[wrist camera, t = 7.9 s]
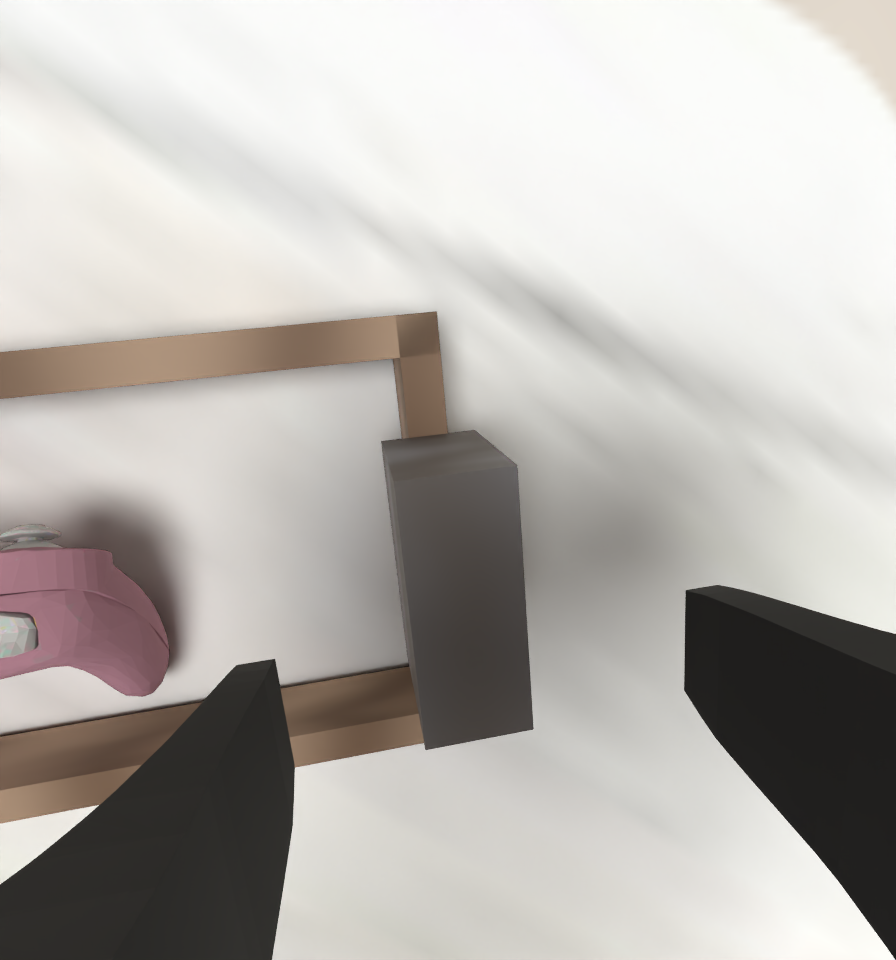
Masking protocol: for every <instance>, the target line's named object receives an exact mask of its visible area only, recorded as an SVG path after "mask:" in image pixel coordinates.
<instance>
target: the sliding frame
mask: <svg viewBox="0 0 896 960" xmlns="http://www.w3.org/2000/svg"><path fill="white" fill-rule="evenodd" d="M383 359H393V364H394V373H395V381H396V390H397V399H398V408H399V417H400V426H401V435H402V439H397V440H388V441H381V444H382V452H383V460H384V468H385V477H386V485H387V493H388V501H389V509H390V517H391V526H392V534H393V542H394V550H395V558H396V567H397V575H398V583H399V591H400V599H401V608H402V616H403V624H404V632H405V640H406V649H407V655H408V661H409V667H403V668H397V669H391V670H386V671H380V672H374V673H368V674H362V675H357V676H351V677H345V678H339V679H333V680H328V681H322V682H316V683H310V684H304V685H298V686H293V687H287V688H281V694H282V700H283V705H284V710H285V716H286V721H287V726H288V732H289V737H290V742H291V748H292V753H293V758H294V764H295V767H300V766H305V765H310V764H316V763H321V762H326V761H331V760H337V759H342V758H347V757H352V756H358V755H363V754H368V753H373V752H379V751H384V750H389V749H394V748H400V747H405V746H410V745H416V744H421V743H424V745H425V750H428V749H434V748H439V747H444V746H449V745H454V744H460V743H465V742H470V741H475V740H480V739H486V738H491V737H496V736H501V735H507V734H512V733H517V732H522V731H527V730H533V714H532V698H531V682H530V665H529V649H528V633H527V617H526V600H525V584H524V568H523V552H522V535H521V519H520V503H519V487H518V470H517V465H516V464H515V463H514V462H512V461H511V460H510V459H509V458H508V457H506V456H505V455H504V454H503V453H502V452H500V451H499V450H498V449H497V448H496V447H494V446H493V445H492V444H491V443H490V442H488V441H487V440H486V439H485V438H484V437H482V436H481V435H480V434H479V433H478V432H476V431H475V430H471V431H463V432H454V433H448V430H447V419H446V408H445V398H444V387H443V376H442V365H441V354H440V343H439V332H438V321H437V312H426V313H416V314H405V315H394V316H383V317H373V318H362V319H351V320H341V321H330V322H319V323H308V324H298V325H287V326H276V327H266V328H255V329H244V330H233V331H223V332H212V333H201V334H191V335H180V336H169V337H158V338H148V339H137V340H126V341H116V342H105V343H94V344H83V345H73V346H62V347H51V348H41V349H30V350H19V351H8V352H0V399H4V398H14V397H23V396H33V395H43V394H53V393H62V392H72V391H82V390H91V389H101V388H111V387H121V386H130V385H140V384H150V383H159V382H169V381H179V380H189V379H198V378H208V377H218V376H227V375H237V374H247V373H257V372H266V371H276V370H286V369H295V368H305V367H315V366H325V365H334V364H344V363H354V362H363V361H373V360H383ZM201 703H202V702H200V703H194V704H188V705H182V706H177V707H171V708H165V709H159V710H153V711H148V712H142V713H136V714H130V715H124V716H119V717H113V718H107V719H101V720H95V721H90V722H84V723H78V724H72V725H66V726H61V727H55V728H49V729H43V730H37V731H32V732H26V733H20V734H14V735H8V736H3V737H0V823H5V822H11V821H16V820H21V819H26V818H32V817H37V816H42V815H47V814H53V813H58V812H63V811H68V810H74V809H79V808H84V807H89V806H95V805H100V804H101V803H103V802H104V801H105V800H106V799H107V798H108V797H109V796H110V795H111V794H112V793H114V792H115V791H116V790H117V789H118V788H119V787H120V786H121V785H122V784H123V783H124V782H125V781H126V780H127V779H128V778H129V777H130V776H131V775H132V774H133V773H134V772H135V771H136V770H137V769H138V768H139V767H140V766H141V765H142V764H143V763H144V762H145V761H146V760H148V759H149V758H150V757H151V756H152V755H153V754H154V753H155V752H156V751H157V750H158V749H159V748H160V747H161V746H162V745H163V744H164V743H165V742H166V741H167V740H168V739H169V738H170V737H171V736H172V734H173V733H174V732H175V731H176V730H177V729H178V728H179V727H180V726H181V725H182V724H183V723H184V722H185V721H186V719H187V718H188V717H189V716H190V715H191V714H192V713H193V712H194V711H195V710H196V709H197V708H198V707H199V705H200V704H201Z"/></svg>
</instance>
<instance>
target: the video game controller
mask: <svg viewBox="0 0 896 960" xmlns="http://www.w3.org/2000/svg"><path fill="white" fill-rule="evenodd" d="M59 536H61V533H60V532H59V531H57V530H54V529H52V528H49V527H46V526H45V525H21V526H17V527H15V529H11V530H9V531H7V532H5V533H3V534H1V535H0V540H1V541H7V542H16V543H14V544H12V545H10V546H8V547H5V548H3V549H1V550H0V679H4V678H8V677H12V676H16V675H21V674H25V673H29V672H33V671H37V670H42V669H46V668H50V667H59V666H71V667H74V668H78V669H81V670H84V671H86V672H88V673H90V674H92V675H95V676H97V677H98V678H99V679H101V680H102V681H104V682H105V683H107V684H108V685H110V686H111V687H113V688H114V689H116V690H117V691H119V692H121V693H123V694H125V695H127V696H141V697H143V696H146V695H149V694H152V693H153V692H154V691H155V690H156V689H157V688H158V686H159V685H160V684H161V683H162V681H163V679H164V676H165V673H166V670H167V667H168V661H169V654H170V652H169V645H168V638H167V635H166V632H165V629H164V626H163V624H162V621H161V619H160V616H159V614H158V612H157V610H156V608H155V606H154V604H153V603H152V601H151V600H150V599H149V598H148V596H147V595H146V594H145V593H144V592H143V590H142V589H141V588H140V587H139V585H138V584H136V583H135V582H134V581H133V580H131V579H130V578H129V577H128V576H127V575H125V574H124V573H123V572H122V571H120V570H119V569H118V568H117V567H115V566H114V565H113V558H112V553H111V552H109V551H106V550H99V549H88V548H62V547H61V546H59V545H56V544H53V543H50V542H47V541H44V540H50V539H53V538H56V537H59Z"/></svg>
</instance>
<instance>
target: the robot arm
mask: <svg viewBox="0 0 896 960" xmlns="http://www.w3.org/2000/svg"><path fill="white" fill-rule="evenodd" d="M684 691H685V692H686V694H687V695H688V697H689V698H690V700H691V702H692V703H693V705H694V706H695V708H696V709H697V711H698V713H699V714H700V716H701V717H702V719H703V720H704V722H705V723H706V725H707V726H708V727H709V729H710V730H711V732H712V733H713V735H714V736H715V738H716V739H717V740H718V741H719V743H720V744H721V745H722V746H723V747H724V749H725V750H726V751H727V752H728V753H729V754H730V756H731V757H732V758H733V759H734V760H735V761H736V763H737V764H738V765H739V766H740V767H741V768H742V770H743V771H744V772H745V773H746V774H747V775H748V777H749V778H750V779H751V780H752V781H753V782H754V783H755V785H756V786H757V787H758V788H759V789H760V790H761V791H762V793H763V794H764V795H765V796H766V797H767V798H768V799H769V800H770V802H771V803H772V804H773V805H774V806H775V807H776V808H777V810H778V811H779V812H780V813H781V814H782V815H783V816H784V818H785V819H786V820H787V821H788V822H789V823H790V824H791V826H792V827H793V828H794V829H795V830H796V831H797V832H798V833H799V835H800V836H801V837H802V838H803V839H804V840H805V841H806V843H807V844H808V845H809V846H810V847H811V848H812V849H813V851H814V852H815V853H816V854H817V855H818V857H819V858H820V859H821V860H822V862H823V863H824V864H825V865H826V866H827V868H828V869H829V870H830V871H831V873H832V874H833V875H834V876H835V877H836V879H837V880H838V881H839V883H840V884H841V885H842V887H843V888H844V889H845V891H846V892H847V893H848V895H849V896H850V898H851V899H852V900H853V902H854V903H855V904H856V906H857V907H858V908H859V910H860V911H861V913H862V914H863V915H864V917H865V918H866V919H867V921H868V922H869V924H870V925H871V926H872V928H873V929H874V930H875V932H876V933H877V934H878V936H879V937H880V939H881V940H882V941H883V943H884V944H885V945H886V947H887V948H888V950H889V951H890V953H891V954H892V955H893V957H894V958H895V960H896V634H893V633H889V632H885V631H881V630H877V629H874V628H870V627H867V626H863V625H860V624H856V623H853V622H849V621H846V620H843V619H839V618H836V617H832V616H829V615H826V614H822V613H819V612H816V611H812V610H809V609H806V608H803V607H799V606H796V605H793V604H789V603H786V602H783V601H779V600H776V599H773V598H769V597H766V596H762V595H759V594H755V593H751V592H748V591H744V590H740V589H735V588H731V587H726V586H720V585H715V586H709V587H703V588H697V589H691V590H686V608H685V681H684ZM294 772H295V764H294V758H293V753H292V748H291V742H290V737H289V732H288V726H287V721H286V716H285V710H284V705H283V700H282V694H281V689H280V684H279V678H278V673H277V668H276V662H275V659H272V660H266V661H260V662H254V663H248V664H242V665H236V666H235V667H234V668H233V669H232V670H231V671H230V672H229V673H228V674H227V676H226V677H225V678H224V679H223V680H222V681H221V682H220V683H219V684H218V685H217V687H216V688H215V689H214V690H213V691H212V692H211V693H210V694H209V695H208V697H207V698H206V699H205V700H204V701H203V702H202V703H201V704H200V705H199V707H198V708H197V709H196V710H195V711H194V712H193V713H192V714H191V715H190V716H189V717H188V718H187V719H186V721H185V722H184V723H183V724H182V725H181V726H180V727H179V728H178V729H177V730H176V731H175V732H174V733H173V734H172V736H171V737H170V738H169V739H168V740H167V741H166V742H165V743H164V744H163V745H162V746H161V747H160V748H159V749H158V750H157V751H156V752H155V753H154V754H153V755H152V756H151V757H150V758H149V759H148V760H146V761H145V762H144V763H143V764H142V765H141V766H140V767H139V768H138V769H137V770H136V771H135V772H134V773H133V774H132V775H131V776H130V777H129V778H128V779H127V780H126V781H125V782H124V783H123V784H122V785H121V786H120V787H119V788H118V789H117V790H116V791H115V792H114V793H112V794H111V795H110V796H109V797H108V798H107V799H106V800H105V801H104V802H103V803H101V804H100V805H99V806H98V807H97V808H96V809H95V810H93V811H92V812H91V813H90V814H89V815H88V816H87V817H85V818H84V819H83V820H82V821H81V822H80V823H78V824H77V825H76V826H75V827H73V828H72V829H71V830H70V831H69V832H67V833H66V834H65V835H64V836H63V837H61V838H60V839H59V840H58V841H57V842H55V843H54V844H53V845H52V846H50V847H49V848H48V849H47V850H46V851H44V852H43V853H42V854H41V855H39V856H38V857H37V858H35V859H34V860H33V861H32V862H30V863H29V864H28V865H26V866H25V867H24V868H22V869H21V870H19V871H18V872H17V873H15V874H14V875H13V876H11V877H10V878H9V879H7V880H6V881H4V882H3V883H2V884H0V960H272V955H273V948H274V942H275V936H276V929H277V923H278V917H279V910H280V904H281V898H282V891H283V885H284V879H285V872H286V866H287V859H288V853H289V846H290V839H291V833H292V826H293V803H294Z"/></svg>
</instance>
